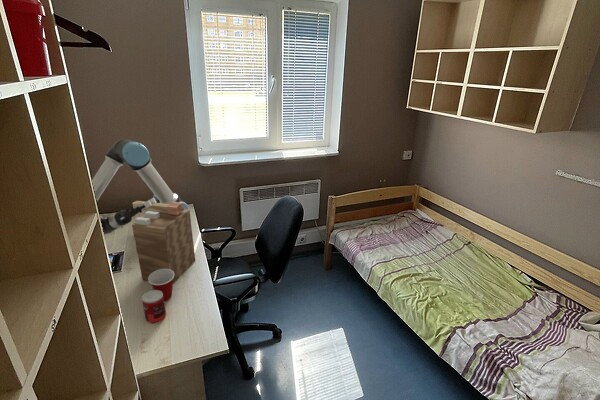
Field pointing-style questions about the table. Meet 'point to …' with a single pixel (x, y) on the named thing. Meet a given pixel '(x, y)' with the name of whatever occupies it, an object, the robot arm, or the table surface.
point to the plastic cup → (162, 282)
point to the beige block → (163, 207)
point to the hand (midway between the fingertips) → (152, 201)
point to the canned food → (154, 306)
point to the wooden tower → (165, 244)
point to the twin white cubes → (147, 218)
